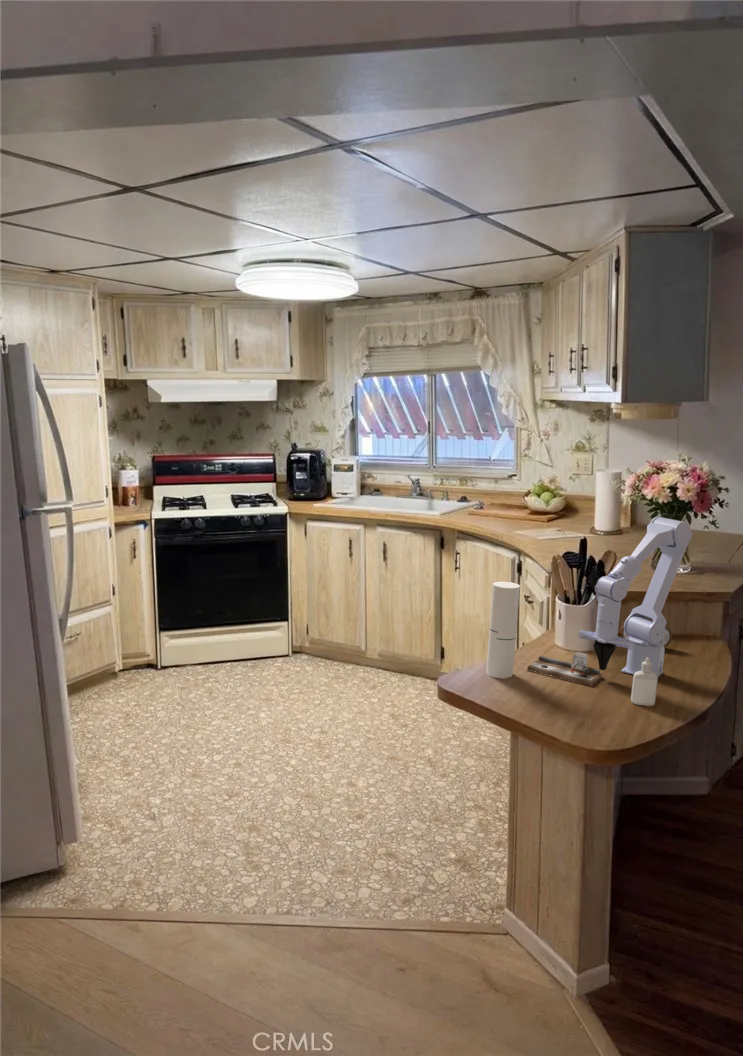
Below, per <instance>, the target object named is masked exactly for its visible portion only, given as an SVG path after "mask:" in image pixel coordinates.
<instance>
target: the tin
mask: <svg viewBox="0 0 743 1056" xmlns="http://www.w3.org/2000/svg"><path fill="white" fill-rule="evenodd" d="M624 623H625V621H623V623H622V625H621V628H620V634H621V638H624V639H627V640H629V639H628V638H627V634H626V633H625V631H624ZM672 633H673V632H672V629H671V628H670V626H669V625H667V624H666V625H665V631H664V637H663V639H662V640H661V641H660V642H659V645H661V646H664V649H665V648H667V647H668V646H669V645H670V643H671V642H672V638H673V634H672Z"/></svg>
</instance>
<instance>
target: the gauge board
mask: <svg viewBox="0 0 743 1056" xmlns="http://www.w3.org/2000/svg"><path fill="white" fill-rule="evenodd" d="M571 665H572V662H568V661H563V660H560V659H555V658H552V657H551V658H550V657H548V656H547V657H546V656H543V655H540V656H538V659H536V660H535V661H533V662H532V663H531V664H529V665H527V671H528V670H532V671H536V672H539V673H543V674H547V675H552V676H555V677H558V678H557V679H559V678H562V679H561V680H563V679H564V681H567V680H568V681H567V682H571V681H572V683H575V682H576V683H575V684H579V683H580V685H583V684H584V685H583V686H587V685H588V686H587V687H592V686H594V685H595V684H596V683H597V682H598V681H599V680H600V679H602V678H603V673H602V672H601V670H600V669H599V668H598V669H597V668H592V667H588V666H587V667H585V666H584V668H583V670H582V671H580V670H576V669H574V673H571V668H572V667H571ZM532 671H531V672H532ZM539 673H538V674H539ZM543 674H542V675H543ZM547 675H546V676H547ZM555 677H554V678H555Z"/></svg>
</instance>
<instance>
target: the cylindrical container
mask: <svg viewBox="0 0 743 1056" xmlns="http://www.w3.org/2000/svg"><path fill="white" fill-rule="evenodd" d="M520 590H521V586H520V584H518V583H515V582H511V581H496V582H495V581H494V582H493V583H492V591H491V592H492V593H491V606H490V618H489V619H490V620H489V632H488V633H489V634H488V643H487V659H486V670H485V671H486V675H487V676H490V677H492V678H495V679H508V678H507V677H510V676H512V675H514V663H515V649H516V637H517V627H518V613H519V603H520V602H519V600H520ZM512 677H513V676H512ZM510 678H511V677H510Z"/></svg>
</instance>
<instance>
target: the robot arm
mask: <svg viewBox="0 0 743 1056" xmlns="http://www.w3.org/2000/svg"><path fill="white" fill-rule="evenodd" d="M692 535H693V532H692V529H691V526H690V524H689V523H688V522H687V521H685V520H682V521H681V520H677V519H672V518H666V517H662V516H655V517H653V518H652V519H651V521H650V523H649V524H648V525H647V527H646V534H645V536H643V538H642V540H641V541H640V542H639V543H638V545H637V546H636V547H635V549H634V550H633V552H632V553H631V555H628V556H623V557H622V558H621V559H620V560H619V562H618V563H617V564H616V565H615V566H614V567H613V569H612V570H611V571H610V572H609V573H608V574H607V575H605V576H601V577H600V578H598V580H597V582H596V585H594V592H595V594H596V601H597V602H598V604H597V605H598V606H597V613H596V614H597V615H596V626H595V631H589V630H582V629H581V630H579V631H578V637H577V638H578V639H580V640H586V641H588V640H589V641H593V642H594V644H593V646H592V647H593V649H594V652H595V654H596V657H597V661H598V670H600V671H606V670H607V667H608V664H609V662H610V659H611V657H612V655H613V653H614V652H615V650H616V649H617V648H618V647H619V648H623V649H627V655H626V656H627V657H626V664H625V666H624V667H623V668H622V669H621V673H625V674H628V675H633V676H634V673H635V672H637V671H641V667H642V662H645V660H646V658H649V661H650V663H652V671H651V672H652V673H654V674H656V676H657V678H659V677H660V676H661V675H662V674H663V669H664V668H663V667H664V659H665V652H666V651H665V648H664V646H661V645H659V642H660V641H661V640H662V639H663V637H664V631H665V625H667V620H666V618H665V616H664V614H663V613H662V610H663V608H664V605H665V603H666V600H667V598H668V595H669V593H670V591H671V588H672V586H673V583H674V580H675V578H676V575H677V572H678V570H679V568H680V565H681V562H682V560H683V557H684V555H685V553H686V550H687V548H688V545H689V543H690V541H691V538H692ZM658 548H659V549H660V551H661V556H660V558H659V560H658V563H657V564H656V568H655V571H654V572H653V574H652V575H653V576H652V578H651V581H650V583H649V586H648V588H647V591H646V594H645V596H644V598H643V600H642V604H640V605H639V606H636V607H634V608H632V610H631V612H630V614H629V615H628V617H626V619H625V621H624V622H625V623H624V622H623V623H624V631H625V633H626V634H627V638H628V639H629V640H627V639H624V638H622V636H618V634H619V626H620V623H619V622H620V616H621V615H620V612H621V606H622V601H623V599H625V597H627V595H628V591H629V588H630V586H631V583H632V582H633V580H634V579H635V578H636V577H637V576H638V575H639V574H640V572H641V571H642V564H643V562H644V561H645V560H647V559H648V557H650V556H651V555H652V554H653V553H654V552H655V551H656V550H657V549H658Z"/></svg>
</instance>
